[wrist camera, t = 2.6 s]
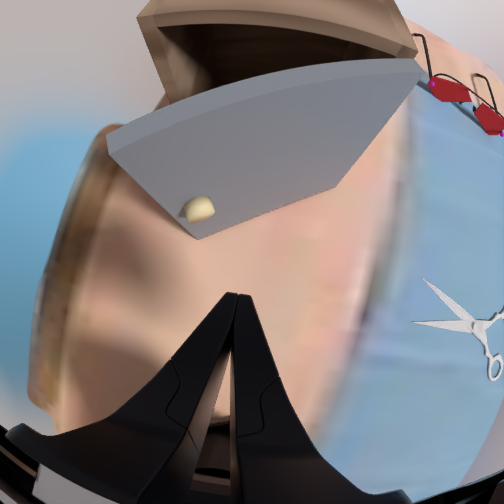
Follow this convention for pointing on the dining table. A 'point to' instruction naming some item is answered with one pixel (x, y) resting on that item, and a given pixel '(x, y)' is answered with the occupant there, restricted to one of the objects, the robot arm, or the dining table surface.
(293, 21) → the walnut box
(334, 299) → the dining table surface
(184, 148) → the flap
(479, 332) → the scissors
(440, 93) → the glasses
